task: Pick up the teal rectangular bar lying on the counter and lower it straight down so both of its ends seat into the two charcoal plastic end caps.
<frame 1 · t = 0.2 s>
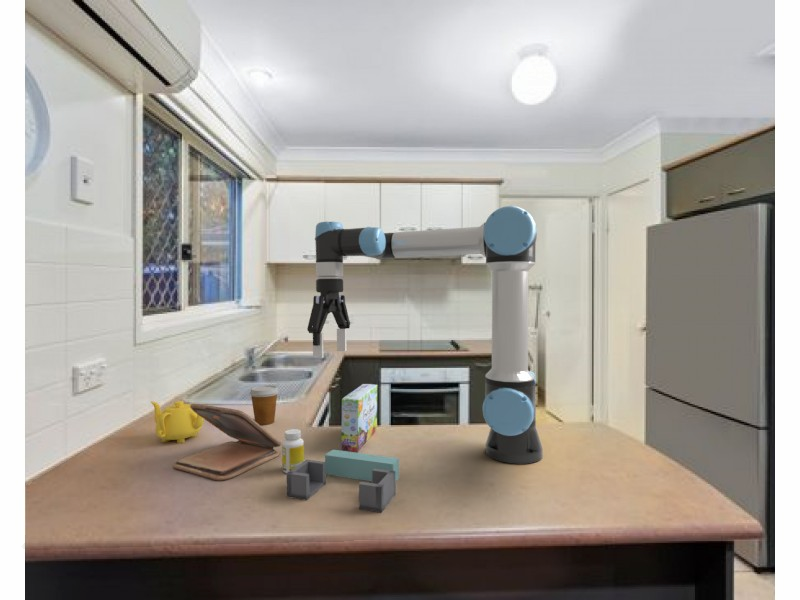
hand: (330, 354, 123), 27 cm above the counter, fingers open, 13 cm apart
end cap far: (306, 490, 100), on the counter
teapot: (177, 440, 135), on the counter
disposable coffee cup: (264, 423, 152), on the counter
teal rectangular bar: (361, 476, 107), on the counter
snack box: (360, 440, 134), on the counter
case: (228, 462, 118), on the counter
supplement bottle: (293, 470, 111), on the counter
end cap near: (377, 501, 94), on the counter
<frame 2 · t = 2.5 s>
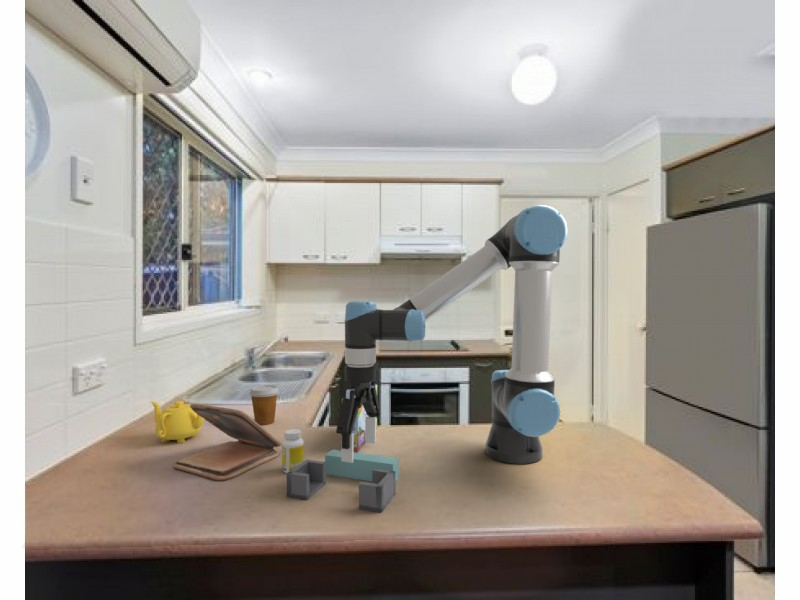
hand: (359, 451, 107), 6 cm above the counter, fingers open, 13 cm apart
nothing on the counter moved.
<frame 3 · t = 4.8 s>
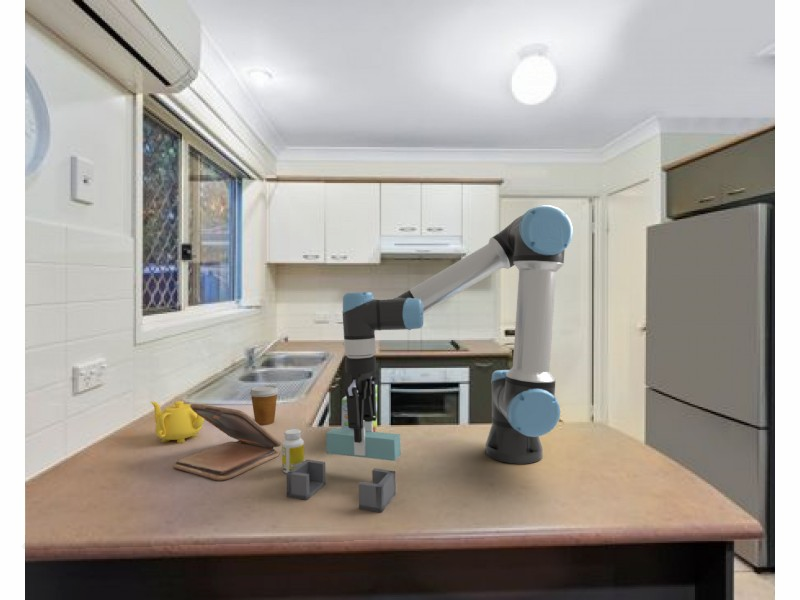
hand: (364, 450, 107), 6 cm above the counter, fingers closed on teal rectangular bar, 4 cm apart
teal rectangular bar: (363, 453, 107), point 5 cm above the counter, touching gripper
everything else where it was.
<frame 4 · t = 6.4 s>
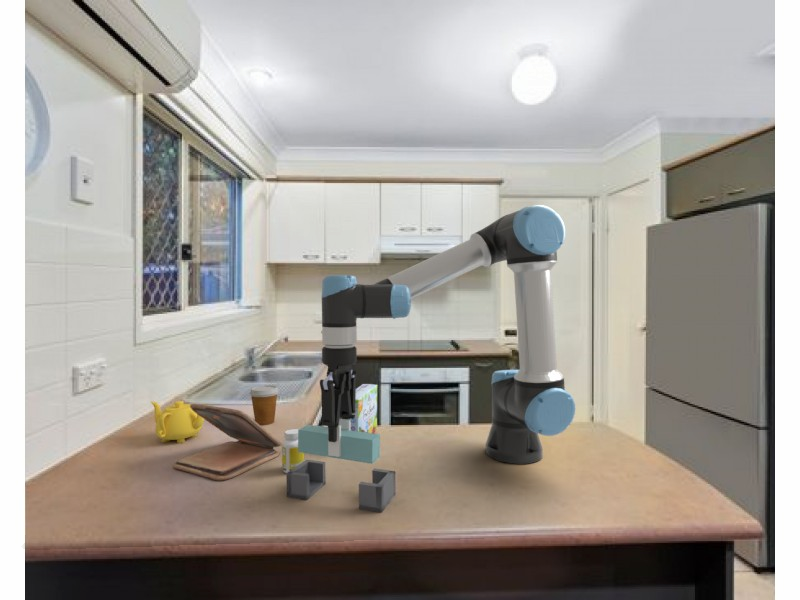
hand: (339, 451, 97), 10 cm above the counter, fingers closed on teal rectangular bar, 4 cm apart
teal rectangular bar: (338, 454, 97), point 9 cm above the counter, touching gripper
everything else where it was.
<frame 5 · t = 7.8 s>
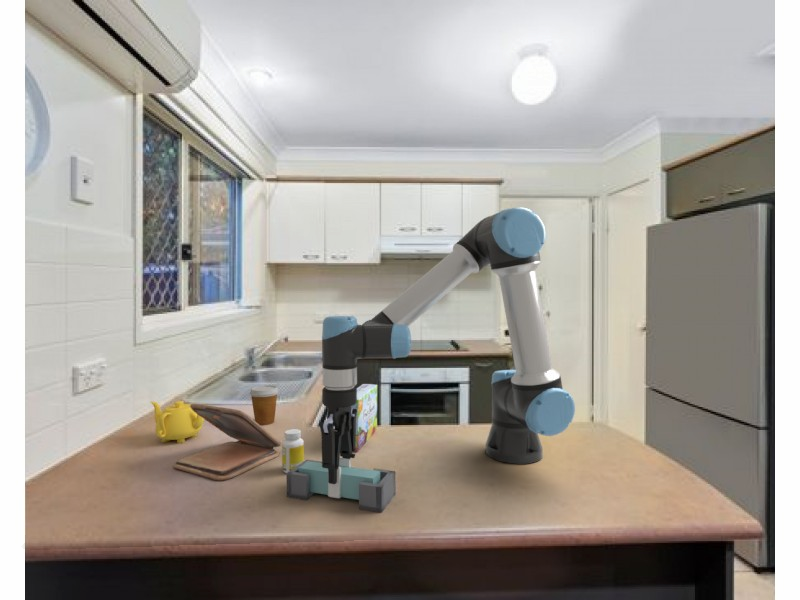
hand: (339, 491, 97), 1 cm above the counter, fingers closed on teal rectangular bar, 4 cm apart
teal rectangular bar: (339, 491, 97), point 1 cm above the counter, touching end cap far, end cap near, gripper
everything else where it was.
when the fingers open (0 cm above the counter, at t = 8.3 s): teal rectangular bar stays where it is, resting on end cap far, end cap near.
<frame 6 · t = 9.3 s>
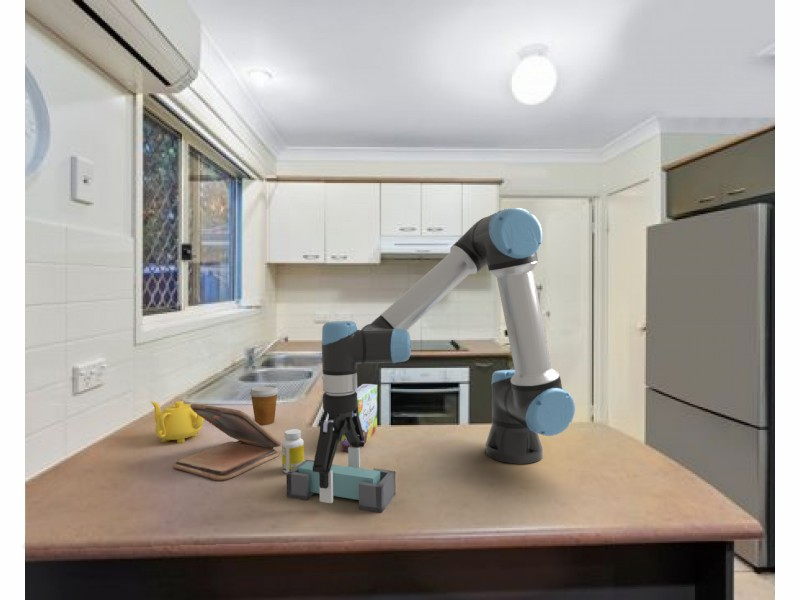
hand: (341, 487, 97), 2 cm above the counter, fingers open, 13 cm apart
teal rectangular bar: (339, 492, 97), point 1 cm above the counter, touching end cap far, end cap near
everything else where it was.
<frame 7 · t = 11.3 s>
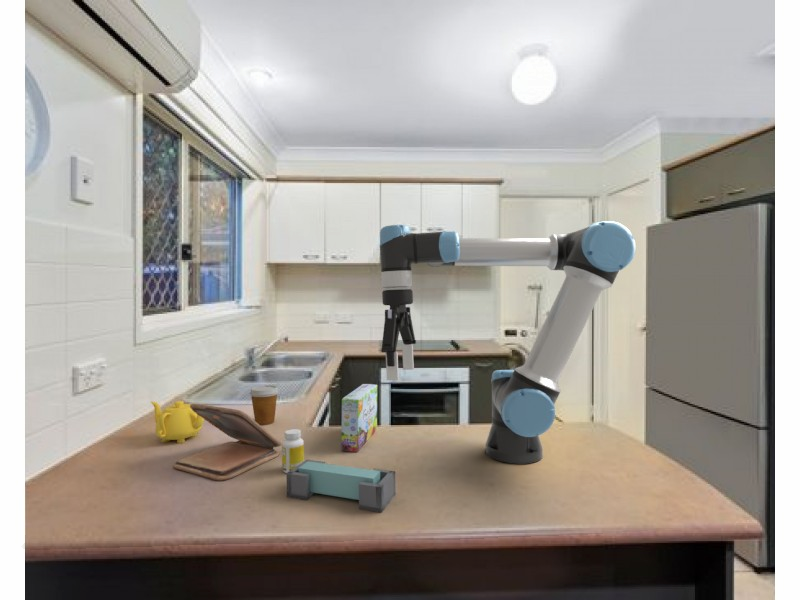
hand: (401, 374, 109), 24 cm above the counter, fingers open, 13 cm apart
nothing on the counter moved.
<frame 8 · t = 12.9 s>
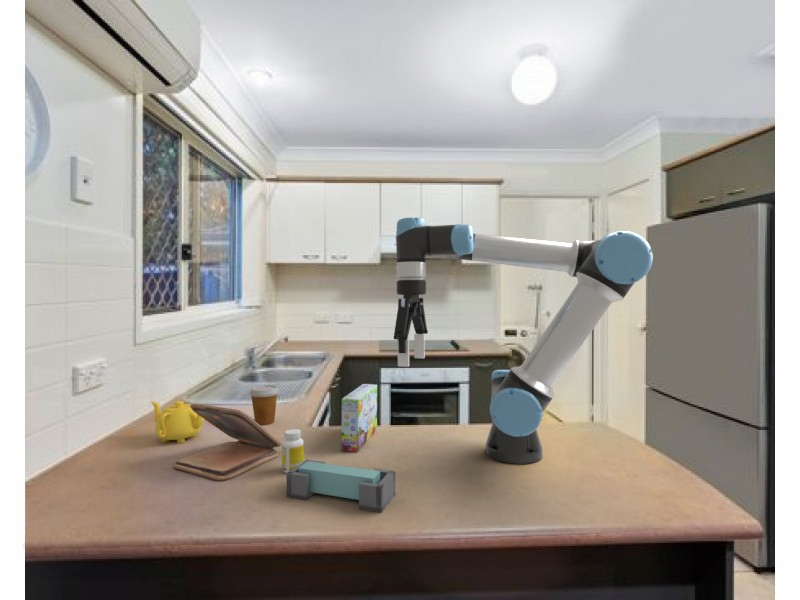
hand: (412, 362, 113), 27 cm above the counter, fingers open, 13 cm apart
nothing on the counter moved.
at the end: teal rectangular bar 0.4 cm from the target spot, point 0.8 cm above the counter; teal rectangular bar tilted 0°; the gripper is holding nothing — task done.
